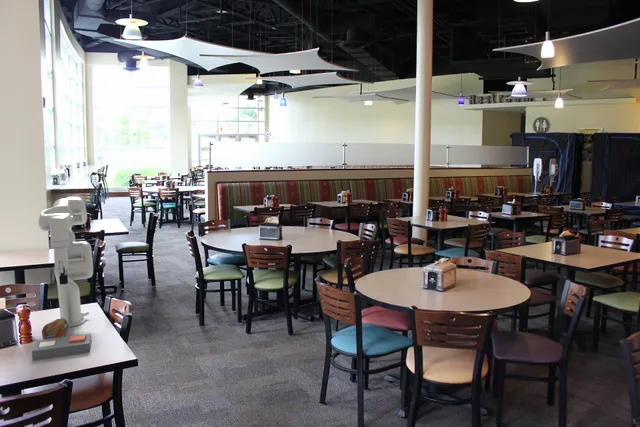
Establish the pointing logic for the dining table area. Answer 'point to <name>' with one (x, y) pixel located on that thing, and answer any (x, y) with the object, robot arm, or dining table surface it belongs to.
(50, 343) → the white button
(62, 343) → the console
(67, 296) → the robot arm
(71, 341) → the red button
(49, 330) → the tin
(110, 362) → the dining table surface
